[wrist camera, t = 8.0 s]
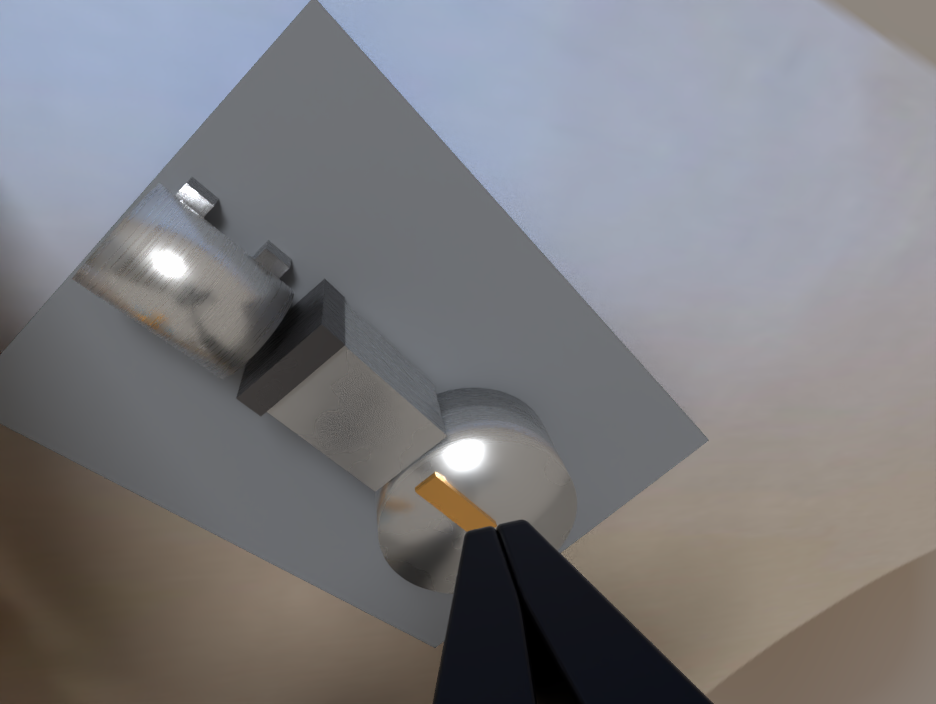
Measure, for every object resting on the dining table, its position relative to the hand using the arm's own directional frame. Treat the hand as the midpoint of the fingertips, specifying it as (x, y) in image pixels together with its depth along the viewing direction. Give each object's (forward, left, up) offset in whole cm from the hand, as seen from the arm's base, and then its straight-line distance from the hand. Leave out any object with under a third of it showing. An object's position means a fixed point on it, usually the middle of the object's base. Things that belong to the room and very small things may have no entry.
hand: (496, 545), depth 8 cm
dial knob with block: (-4, +4, -11) cm, 12 cm away
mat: (-4, +5, -12) cm, 13 cm away
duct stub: (+4, +4, -11) cm, 12 cm away
